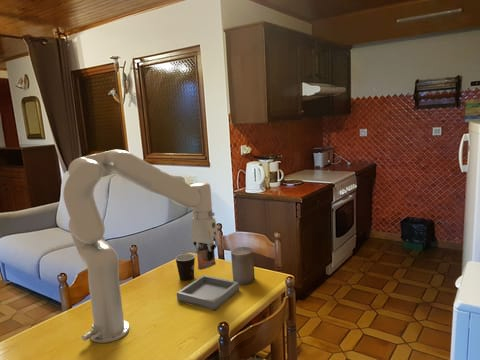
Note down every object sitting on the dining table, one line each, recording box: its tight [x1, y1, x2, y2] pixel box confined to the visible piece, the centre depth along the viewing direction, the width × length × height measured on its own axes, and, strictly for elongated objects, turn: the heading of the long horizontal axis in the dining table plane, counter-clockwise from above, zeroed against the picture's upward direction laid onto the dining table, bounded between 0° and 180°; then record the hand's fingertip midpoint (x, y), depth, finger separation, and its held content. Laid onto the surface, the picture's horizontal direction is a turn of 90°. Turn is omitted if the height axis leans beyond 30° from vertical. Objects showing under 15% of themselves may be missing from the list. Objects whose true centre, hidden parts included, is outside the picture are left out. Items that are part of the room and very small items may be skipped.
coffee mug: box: [175, 253, 196, 282], centre depth 162 cm, size 12×9×10 cm
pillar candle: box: [230, 246, 256, 286], centre depth 158 cm, size 10×10×15 cm
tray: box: [176, 274, 240, 312], centre depth 146 cm, size 18×18×4 cm
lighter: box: [196, 243, 216, 271], centre depth 144 cm, size 8×3×10 cm, turn 131°
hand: (206, 258), depth 144 cm, fingers closed on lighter, 4 cm apart
